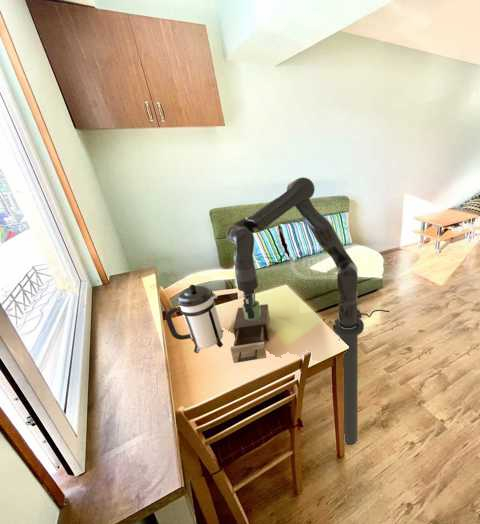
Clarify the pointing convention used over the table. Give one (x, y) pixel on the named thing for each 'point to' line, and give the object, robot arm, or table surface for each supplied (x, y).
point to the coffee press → (198, 317)
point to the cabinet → (261, 321)
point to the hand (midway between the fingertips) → (252, 313)
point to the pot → (256, 310)
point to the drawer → (249, 344)
